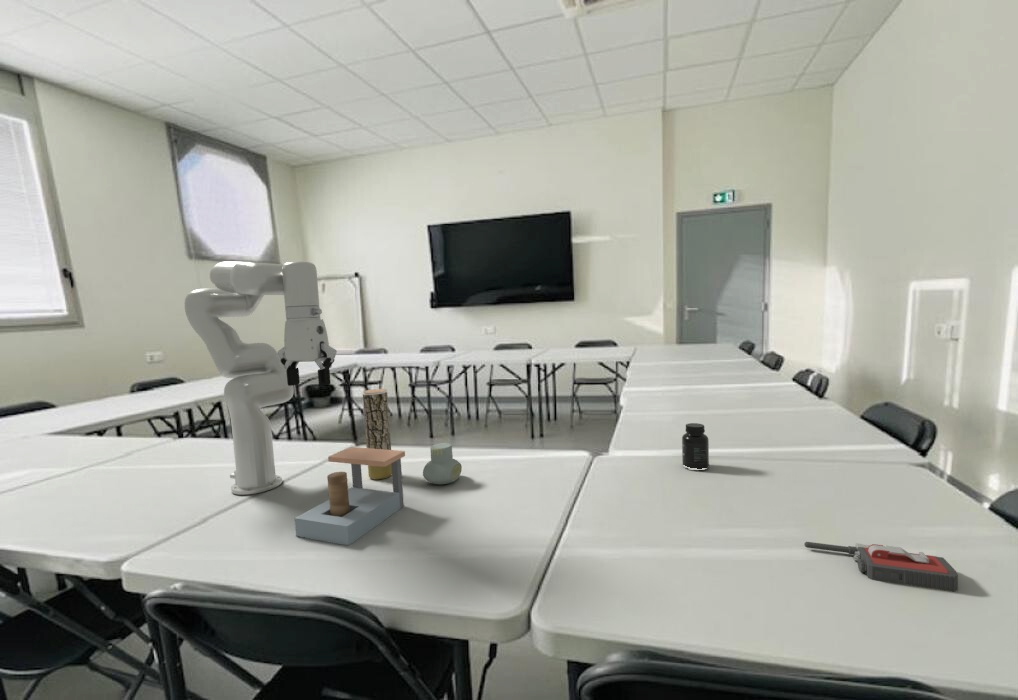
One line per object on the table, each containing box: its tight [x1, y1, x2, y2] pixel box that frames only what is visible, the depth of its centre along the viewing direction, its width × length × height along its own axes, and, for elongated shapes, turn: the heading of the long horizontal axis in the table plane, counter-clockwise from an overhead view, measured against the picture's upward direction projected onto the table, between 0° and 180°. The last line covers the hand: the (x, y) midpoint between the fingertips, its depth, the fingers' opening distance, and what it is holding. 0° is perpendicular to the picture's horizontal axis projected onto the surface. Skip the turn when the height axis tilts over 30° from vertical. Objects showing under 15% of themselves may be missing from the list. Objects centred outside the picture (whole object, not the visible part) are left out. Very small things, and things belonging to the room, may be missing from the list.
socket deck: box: [294, 446, 406, 546], centre depth 105 cm, size 16×20×14 cm
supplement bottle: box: [681, 422, 710, 469], centre depth 129 cm, size 7×7×12 cm
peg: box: [326, 471, 350, 517], centre depth 102 cm, size 4×4×12 cm
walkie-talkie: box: [804, 541, 959, 592], centre depth 77 cm, size 9×4×20 cm
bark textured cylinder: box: [362, 388, 392, 480], centre depth 133 cm, size 7×7×25 cm
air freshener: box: [422, 442, 462, 485], centre depth 127 cm, size 11×8×10 cm
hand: (309, 385), depth 112 cm, fingers open, 9 cm apart
